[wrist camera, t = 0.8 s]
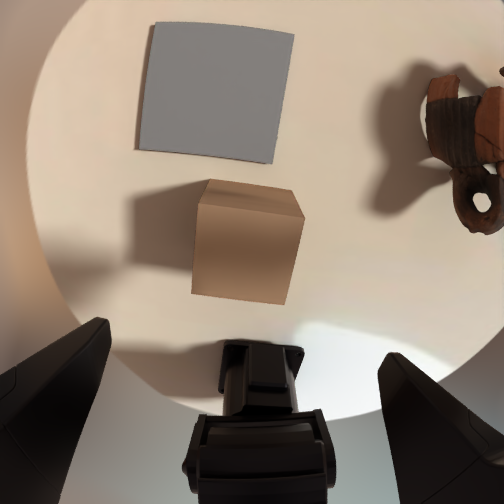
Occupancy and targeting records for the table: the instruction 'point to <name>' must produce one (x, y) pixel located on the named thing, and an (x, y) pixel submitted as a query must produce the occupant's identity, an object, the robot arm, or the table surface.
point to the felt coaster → (215, 90)
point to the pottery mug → (469, 148)
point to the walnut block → (246, 242)
